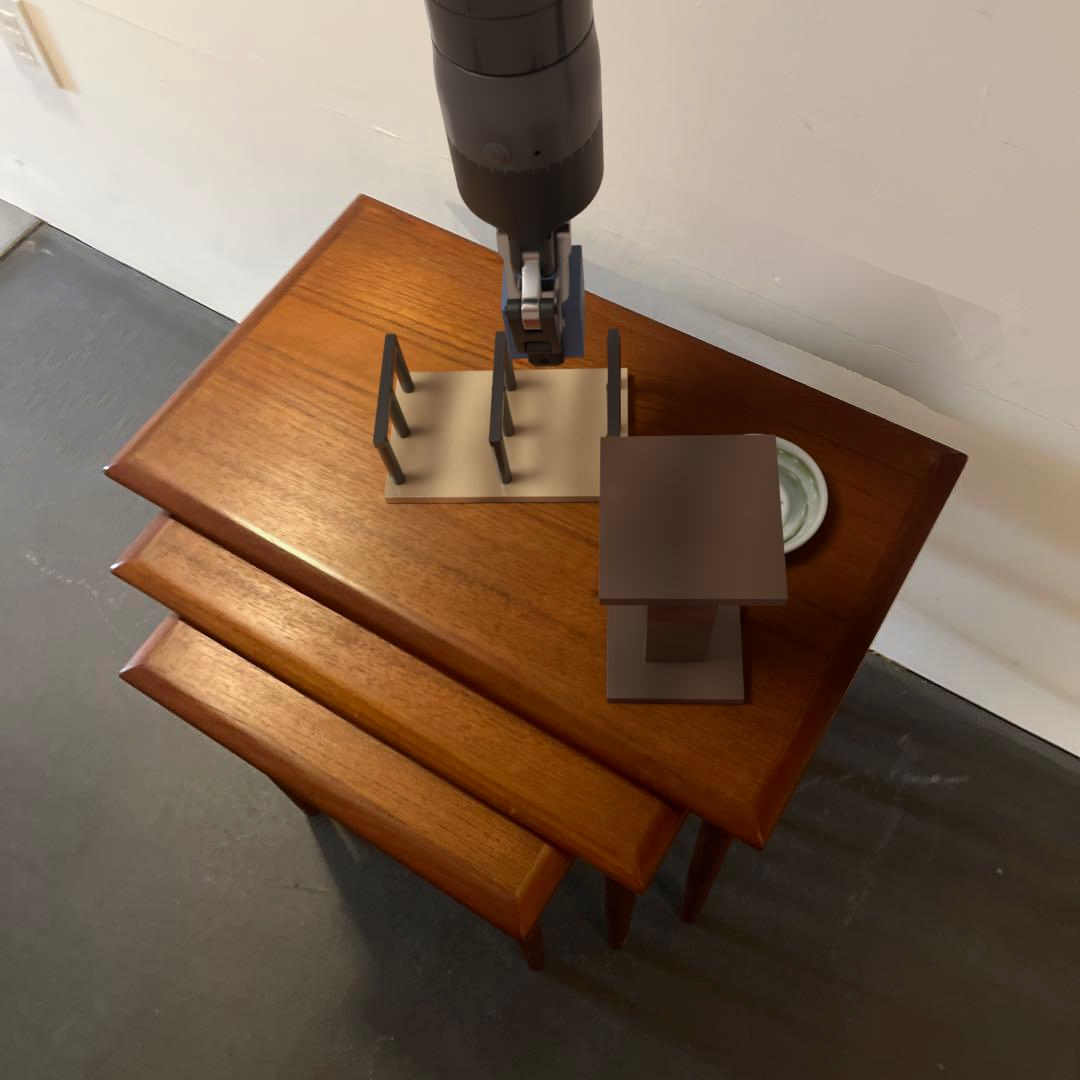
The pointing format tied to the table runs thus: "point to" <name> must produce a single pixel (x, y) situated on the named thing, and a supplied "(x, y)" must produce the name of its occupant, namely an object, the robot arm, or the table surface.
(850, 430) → the table surface
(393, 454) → the rack
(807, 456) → the saucer
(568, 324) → the block
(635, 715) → the table surface
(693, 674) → the stand
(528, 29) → the robot arm
